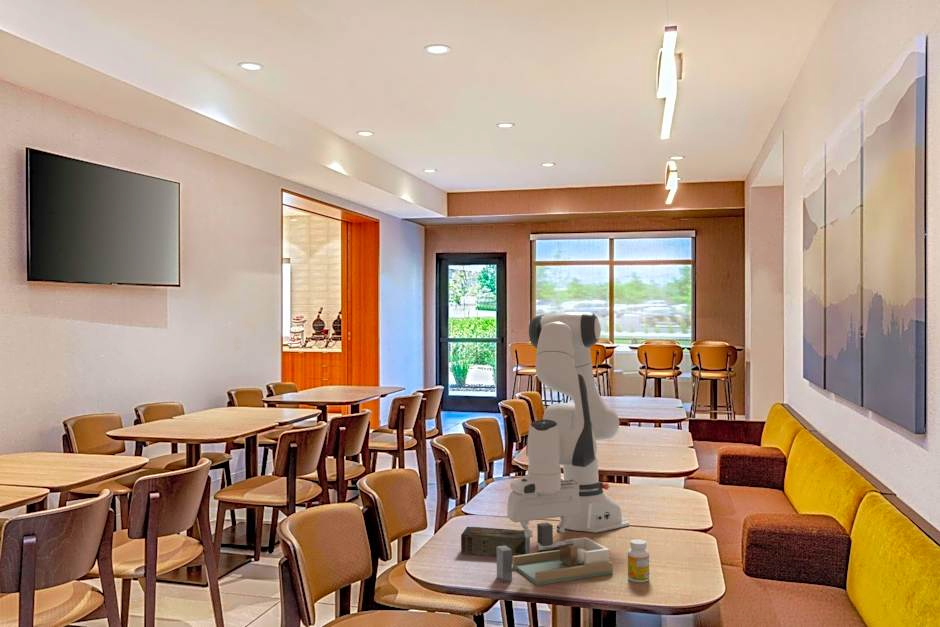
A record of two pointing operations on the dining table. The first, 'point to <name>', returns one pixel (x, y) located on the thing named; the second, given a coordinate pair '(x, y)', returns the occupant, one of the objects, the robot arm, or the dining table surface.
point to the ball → (580, 556)
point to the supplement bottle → (638, 561)
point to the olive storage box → (493, 541)
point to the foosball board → (552, 570)
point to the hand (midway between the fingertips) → (544, 534)
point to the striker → (556, 544)
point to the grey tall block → (504, 563)
